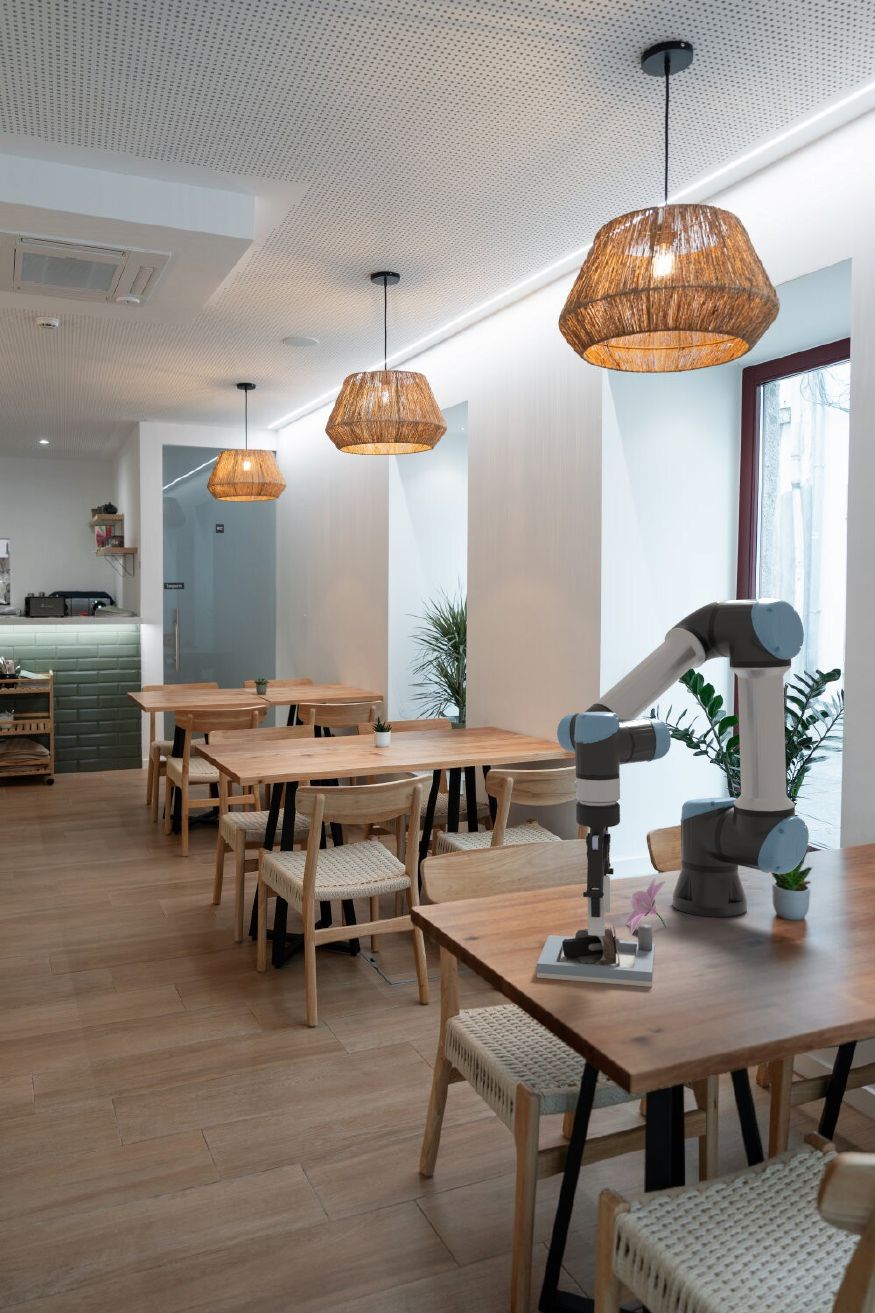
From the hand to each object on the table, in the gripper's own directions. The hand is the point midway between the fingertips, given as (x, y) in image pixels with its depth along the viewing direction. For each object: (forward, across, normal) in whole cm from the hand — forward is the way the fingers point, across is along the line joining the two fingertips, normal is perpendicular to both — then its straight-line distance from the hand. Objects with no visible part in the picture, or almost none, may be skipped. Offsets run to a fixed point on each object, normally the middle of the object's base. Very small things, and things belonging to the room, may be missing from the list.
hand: (599, 923), depth 172 cm
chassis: (+7, 0, 0) cm, 8 cm away
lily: (+8, -25, +7) cm, 27 cm away
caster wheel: (+7, +1, -2) cm, 7 cm away
